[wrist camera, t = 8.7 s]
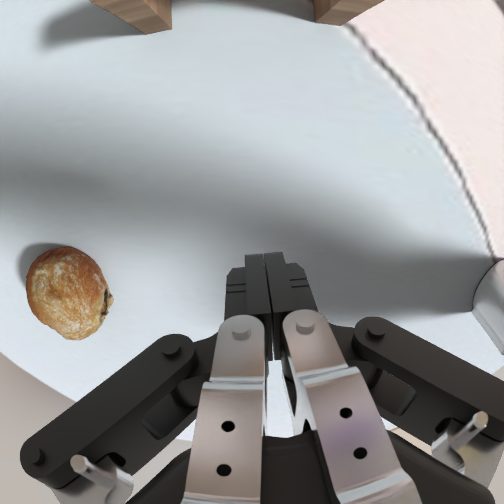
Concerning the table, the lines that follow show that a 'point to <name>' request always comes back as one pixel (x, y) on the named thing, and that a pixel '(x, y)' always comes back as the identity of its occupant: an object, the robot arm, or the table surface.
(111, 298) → the bread roll
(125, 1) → the bridge
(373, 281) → the table surface
